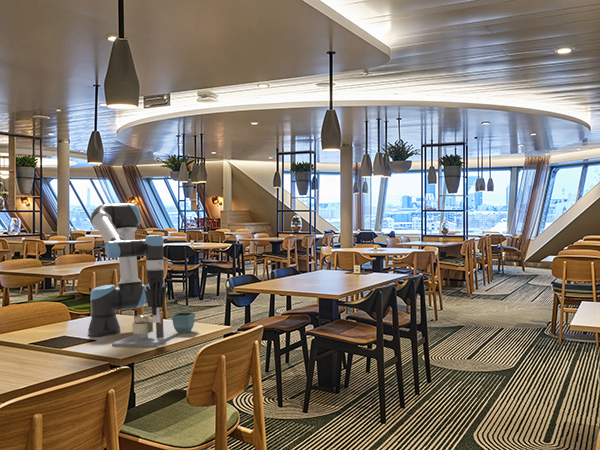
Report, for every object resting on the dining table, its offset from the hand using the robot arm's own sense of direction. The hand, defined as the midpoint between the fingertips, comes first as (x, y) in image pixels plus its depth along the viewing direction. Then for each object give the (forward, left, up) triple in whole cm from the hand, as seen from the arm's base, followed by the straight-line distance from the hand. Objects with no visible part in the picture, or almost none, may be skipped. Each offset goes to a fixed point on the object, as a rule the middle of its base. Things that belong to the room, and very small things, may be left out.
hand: (156, 322), depth 250 cm
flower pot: (+2, +24, -10) cm, 26 cm away
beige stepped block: (-6, +3, -6) cm, 9 cm away
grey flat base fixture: (-8, +4, -10) cm, 13 cm away
